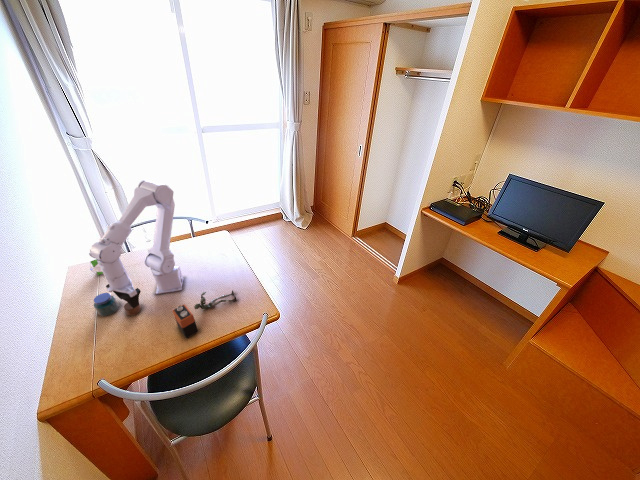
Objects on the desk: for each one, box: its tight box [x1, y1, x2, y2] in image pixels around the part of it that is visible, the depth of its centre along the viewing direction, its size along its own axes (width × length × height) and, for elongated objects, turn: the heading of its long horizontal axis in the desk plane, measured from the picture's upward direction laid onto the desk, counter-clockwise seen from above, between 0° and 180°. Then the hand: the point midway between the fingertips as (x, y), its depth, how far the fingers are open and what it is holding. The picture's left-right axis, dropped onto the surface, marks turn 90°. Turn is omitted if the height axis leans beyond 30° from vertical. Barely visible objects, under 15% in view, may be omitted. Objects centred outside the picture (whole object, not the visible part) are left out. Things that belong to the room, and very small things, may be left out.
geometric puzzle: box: [89, 258, 104, 276], centre depth 114 cm, size 7×7×8 cm
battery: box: [172, 303, 199, 339], centre depth 91 cm, size 4×7×10 cm, turn 46°
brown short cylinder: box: [123, 301, 142, 316], centre depth 98 cm, size 5×5×3 cm
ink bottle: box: [93, 292, 120, 317], centre depth 97 cm, size 6×6×6 cm
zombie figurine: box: [193, 290, 237, 310], centre depth 102 cm, size 5×7×15 cm
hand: (129, 301), depth 96 cm, fingers open, 7 cm apart
